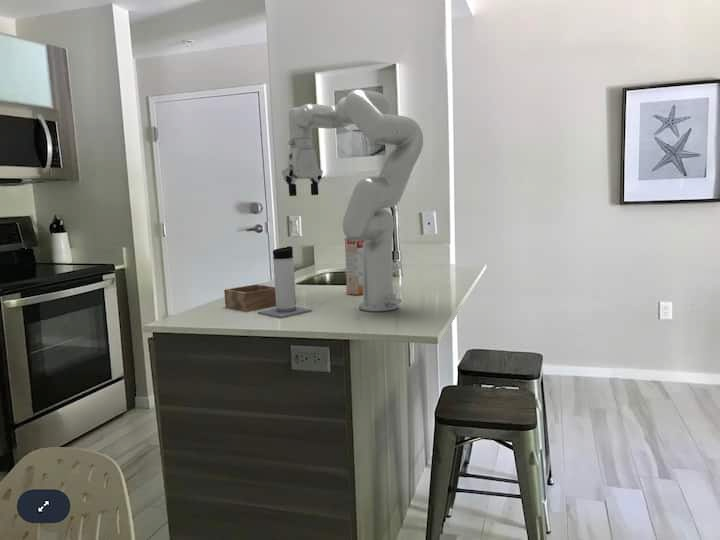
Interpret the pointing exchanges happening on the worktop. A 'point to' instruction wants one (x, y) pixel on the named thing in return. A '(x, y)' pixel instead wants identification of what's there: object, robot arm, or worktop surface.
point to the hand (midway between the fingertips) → (304, 195)
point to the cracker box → (354, 266)
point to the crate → (250, 297)
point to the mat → (284, 314)
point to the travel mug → (284, 279)
